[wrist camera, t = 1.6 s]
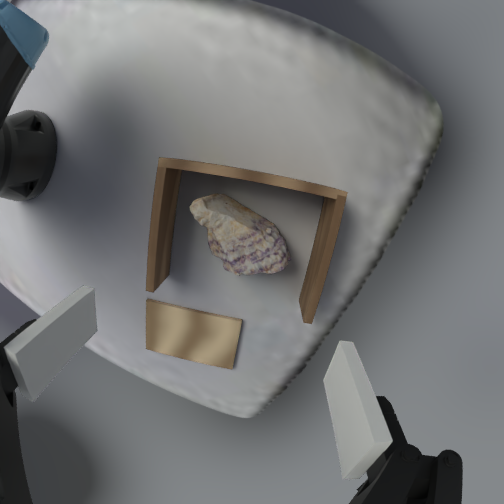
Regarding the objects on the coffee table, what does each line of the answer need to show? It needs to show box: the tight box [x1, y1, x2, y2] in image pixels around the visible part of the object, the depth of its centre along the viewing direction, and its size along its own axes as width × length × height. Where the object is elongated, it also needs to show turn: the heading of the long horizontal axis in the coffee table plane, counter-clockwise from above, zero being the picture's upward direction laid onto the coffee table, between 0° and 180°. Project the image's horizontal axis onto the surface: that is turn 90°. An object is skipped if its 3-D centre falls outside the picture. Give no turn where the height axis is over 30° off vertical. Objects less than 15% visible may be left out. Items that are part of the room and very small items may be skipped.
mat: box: [146, 299, 242, 369], centre depth 40 cm, size 14×9×1 cm, turn 79°
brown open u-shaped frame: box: [146, 157, 348, 324], centre depth 33 cm, size 20×16×6 cm
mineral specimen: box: [190, 194, 291, 276], centre depth 33 cm, size 13×7×6 cm, turn 58°
